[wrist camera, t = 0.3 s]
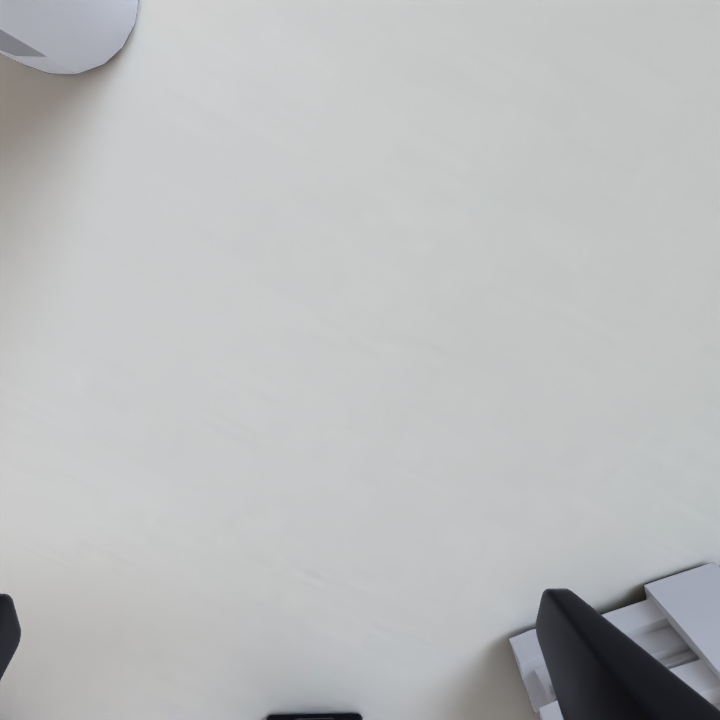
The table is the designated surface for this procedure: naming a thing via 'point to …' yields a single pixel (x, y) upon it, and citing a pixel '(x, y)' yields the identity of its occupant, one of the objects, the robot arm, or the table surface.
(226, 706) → the table surface
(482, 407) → the table surface
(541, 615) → the robot arm
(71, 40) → the spray bottle
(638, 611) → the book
